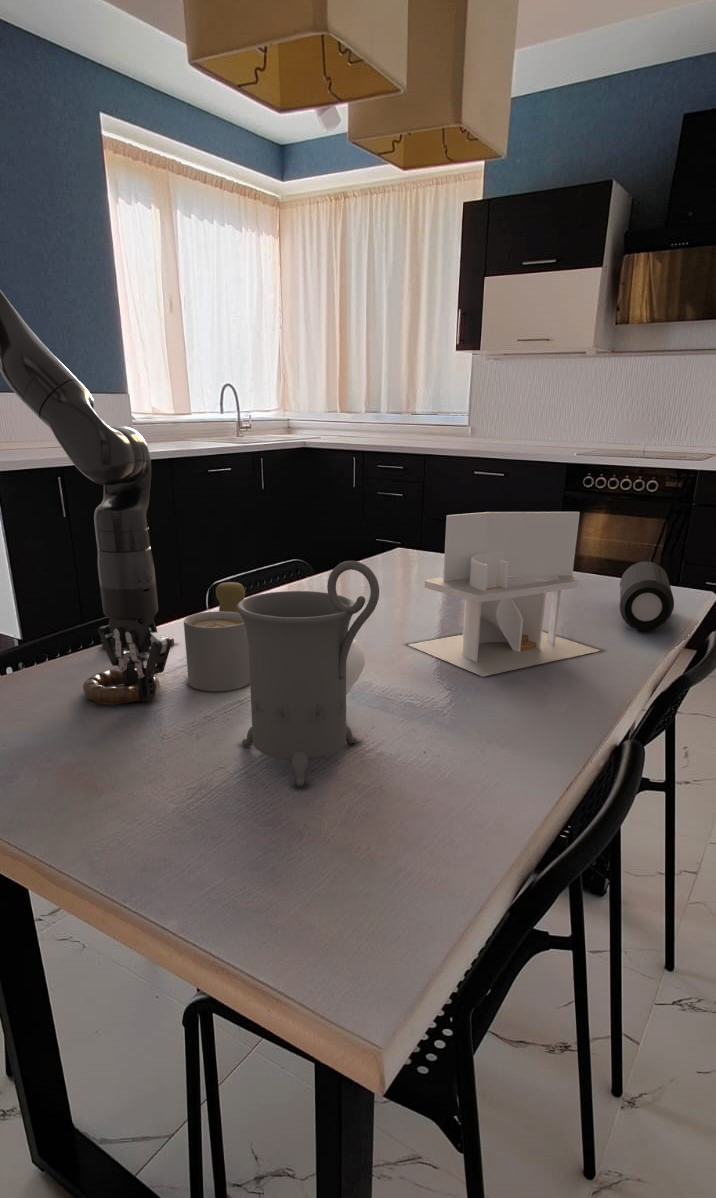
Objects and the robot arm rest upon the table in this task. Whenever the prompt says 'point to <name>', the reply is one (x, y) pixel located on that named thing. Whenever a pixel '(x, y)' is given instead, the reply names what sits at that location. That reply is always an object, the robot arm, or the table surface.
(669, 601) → the portable speaker
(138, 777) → the table surface
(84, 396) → the robot arm
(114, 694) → the ring
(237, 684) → the coffee mug
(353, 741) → the mug
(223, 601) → the cork
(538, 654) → the architectural model
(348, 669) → the spinning top
